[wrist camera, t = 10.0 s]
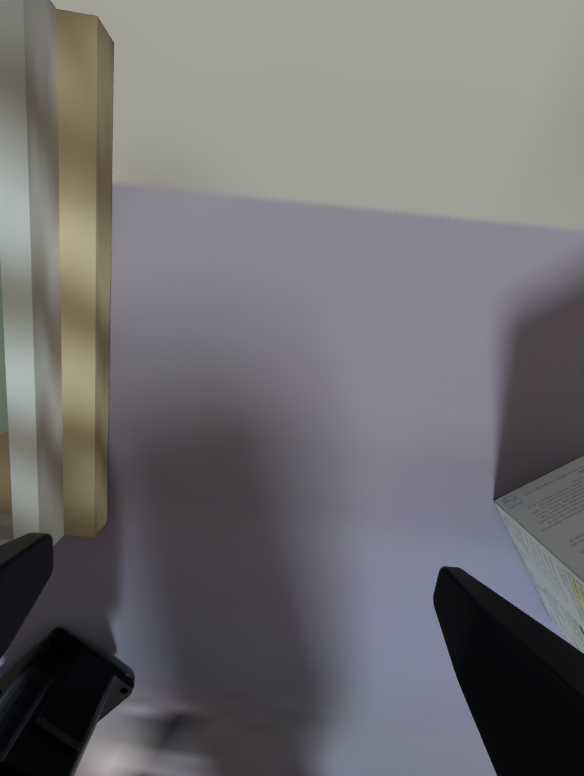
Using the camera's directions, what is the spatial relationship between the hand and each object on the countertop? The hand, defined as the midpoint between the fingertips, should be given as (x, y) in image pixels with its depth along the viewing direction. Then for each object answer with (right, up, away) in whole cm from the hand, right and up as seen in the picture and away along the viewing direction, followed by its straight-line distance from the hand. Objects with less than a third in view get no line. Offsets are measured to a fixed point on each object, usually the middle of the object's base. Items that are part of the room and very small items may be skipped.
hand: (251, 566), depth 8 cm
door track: (-13, +8, +10) cm, 18 cm away
